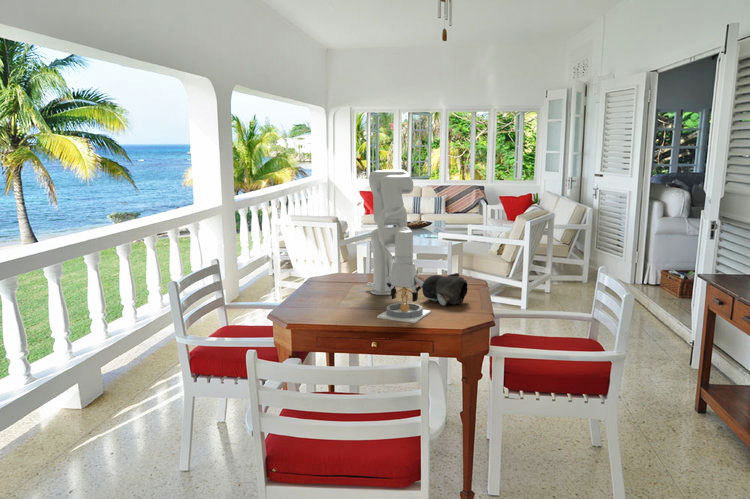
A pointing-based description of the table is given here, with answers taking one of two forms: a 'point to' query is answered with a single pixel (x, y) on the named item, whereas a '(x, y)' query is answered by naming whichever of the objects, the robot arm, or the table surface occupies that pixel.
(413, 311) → the ring stand
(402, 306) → the figurine
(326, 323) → the table surface
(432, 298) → the dark grey rounded piece
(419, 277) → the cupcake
